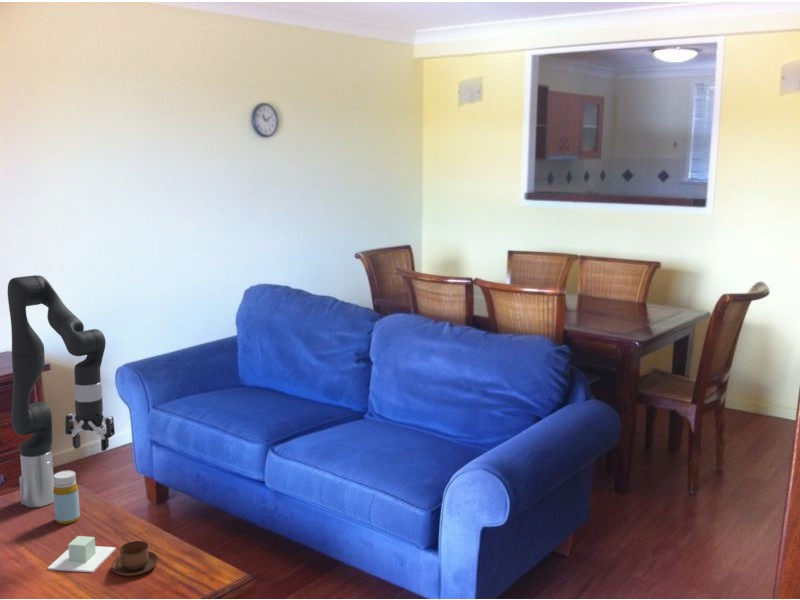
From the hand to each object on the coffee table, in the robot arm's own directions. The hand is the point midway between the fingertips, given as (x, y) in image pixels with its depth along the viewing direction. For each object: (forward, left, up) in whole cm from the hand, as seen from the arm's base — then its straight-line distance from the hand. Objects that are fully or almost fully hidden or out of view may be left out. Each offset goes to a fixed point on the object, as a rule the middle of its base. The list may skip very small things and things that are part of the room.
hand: (90, 448), depth 225 cm
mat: (+5, -17, -26) cm, 31 cm away
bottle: (-12, +5, -26) cm, 29 cm away
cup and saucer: (+22, -20, -26) cm, 39 cm away
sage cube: (+5, -17, -25) cm, 31 cm away
